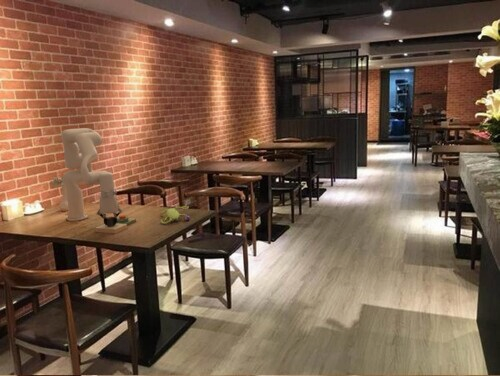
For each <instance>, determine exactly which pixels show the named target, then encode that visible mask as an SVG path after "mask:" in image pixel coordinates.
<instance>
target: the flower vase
mask: <svg viewBox="0 0 500 376" xmlns="http://www.w3.org/2000/svg"><path fill="white" fill-rule="evenodd" d="M49 182H50V184H52V188H53V189H54V188H56V189H59V188H60V187H61V192H62V198H61V202H60V203H59V205H58V208H59V209H60V210H61V211H62V212H69V210H68V202H67V194H66V188H65V184H64V181H63V175H62V176H61V177H60V178H59V177H58V176H55V177H53V180H50V181H49Z"/></svg>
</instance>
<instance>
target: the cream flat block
mask: <svg viewBox="0 0 500 376" xmlns="http://www.w3.org/2000/svg"><path fill="white" fill-rule="evenodd" d="M126 229H128V226H127V224H117V223H116V225H115V226H113V227H107V225H106V226H105V224H104V223H102V224H101V225H98V226H96V227H94V232H95V233H105V234H117V233H120V232H121V231H124V230H126Z"/></svg>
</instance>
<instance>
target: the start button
mask: <svg viewBox="0 0 500 376" xmlns="http://www.w3.org/2000/svg"><path fill="white" fill-rule="evenodd" d="M126 217H127V216H126V215H125V214H119V215H118V218H119V219H124V218H126Z"/></svg>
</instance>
